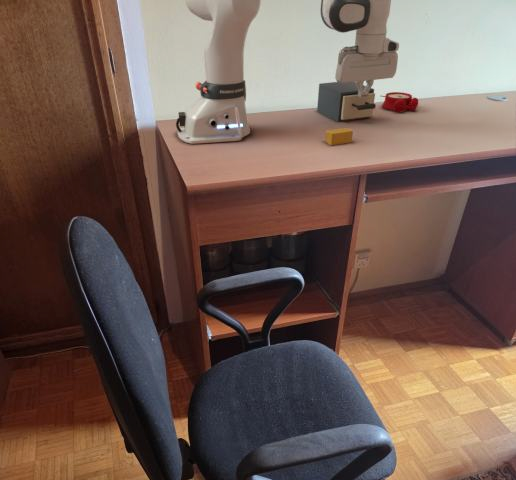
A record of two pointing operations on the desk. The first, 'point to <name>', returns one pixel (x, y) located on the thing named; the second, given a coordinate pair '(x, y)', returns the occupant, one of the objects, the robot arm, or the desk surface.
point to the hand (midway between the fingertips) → (363, 96)
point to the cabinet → (335, 98)
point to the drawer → (357, 106)
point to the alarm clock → (399, 102)
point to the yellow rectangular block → (339, 136)
